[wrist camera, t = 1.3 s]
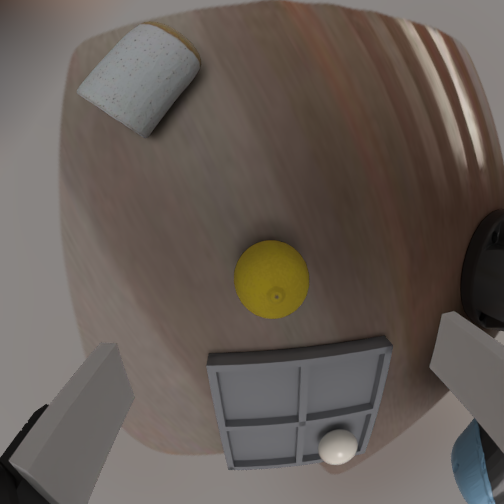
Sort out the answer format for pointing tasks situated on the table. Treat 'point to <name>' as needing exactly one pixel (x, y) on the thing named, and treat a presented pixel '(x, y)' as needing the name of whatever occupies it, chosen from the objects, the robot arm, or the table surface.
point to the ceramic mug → (142, 76)
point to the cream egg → (337, 447)
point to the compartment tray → (296, 400)
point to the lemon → (271, 279)
